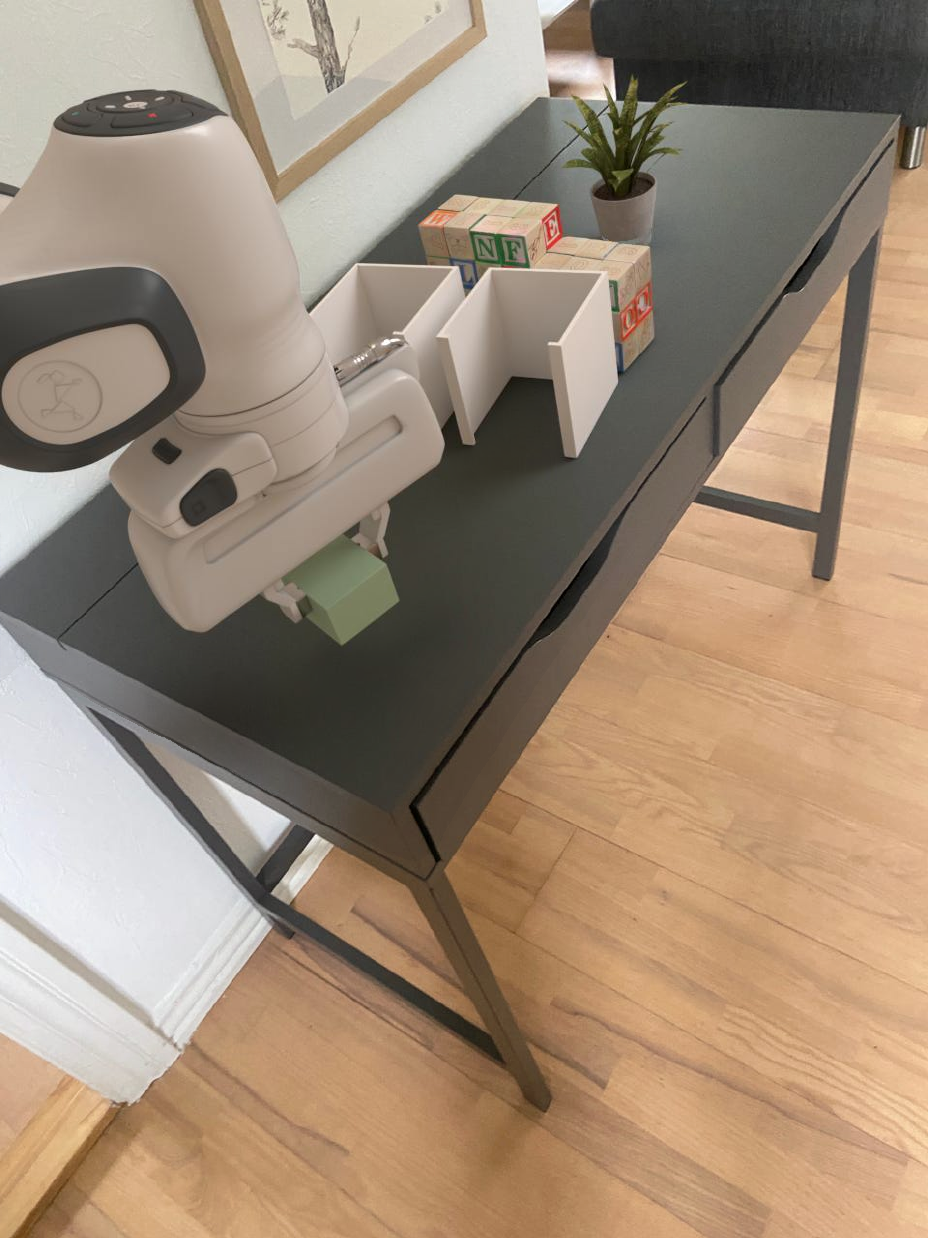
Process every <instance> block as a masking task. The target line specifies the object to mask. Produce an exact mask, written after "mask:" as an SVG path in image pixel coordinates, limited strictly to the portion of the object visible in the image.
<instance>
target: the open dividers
mask: <svg viewBox="0 0 928 1238" xmlns="http://www.w3.org/2000/svg"><path fill="white" fill-rule="evenodd" d="M308 314H309V315H310V317H311V318H312V319H313V321H314V322H315V323H316V325H317V326H318V328H319V330H320V332H321V334H322V336H323V339H324V342H325V345H326V348H327V351H328V354H329V357H330V360H331V363H332V366H334V365H336V364H337V363H339V362H340V361H342V360H343V359H345V358H347V357H349V356H351V355H354V354H356V353H358V352H359V351H361V350H363V349H364V348H365V347H366V346H367V345H368V344H369V343H370V342H372V341H373V340H375V339H377V338H380V337H383V336H385V337H387V338H388V339H391V338H401V339H403V340H405V341H406V342H408V343H409V345H410V346H411V347H412V348H413V350H414V352H415V355H416V359H417V363H418V367H419V371H420V382H419V384H420V385H421V387H422V388H423V390H424V392H425V394H426V396H427V398H428V400H429V402H430V404H431V406H432V409H433V411H434V413H435V416H436V418H437V421H438V424H439V426H440V429H441V430H443V428H444V426H445V425H446V423H447V422H448V420H449V419H450V417H451V416H452V415H453V413H454V414H455V418H456V422H457V427H458V430H459V434H460V438H461V442H462V445H467V446H475V444H476V439H475V433H476V432H477V430H478V429H479V427H480V425H481V424H482V422H483V421H484V419H485V418H486V416H487V415H488V413H489V412H490V410H491V408H492V407H493V406H494V404H495V403H496V401H497V399H498V398H499V396H500V395H501V393H502V392H503V391H504V389H505V387H506V385H507V384H508V383H509V381H510V380H511V379H512V377H517V378H528V379H529V378H531V379H539V380H540V379H541V380H552V382H553V389H554V396H555V404H556V409H557V416H558V422H559V428H560V435H561V442H562V448H563V455H564V458H565V457H566V458H571V459H572V458H573V459H578V457H579V455H580V453H581V452H582V450H583V448H584V446H585V444H586V442H587V441H588V439H589V437H590V435H591V433H592V432H593V430H594V428H595V426H596V424H597V423H598V421H599V419H600V416H602V413H603V411H604V409H605V408H606V406H607V404H608V402H609V401H610V398H611V396H612V395H613V393H614V391H615V389H616V387H617V386H618V384H619V378H618V371H617V365H616V354H615V344H614V333H613V322H612V311H611V301H610V290H609V279H608V271H585V270H554V269H523V268H492V267H489V268H488V270H487V271H486V272H485V274H484V275H483V276H482V277H481V279H480V280H479V281H478V283H477V284H476V285H475V287H474V288H473V289H472V290H471V292H470V293H469V294H468V296H467V297H466V298H465V293H464V289H463V284H462V280H461V275H460V270H459V266H429V265H428V264H397V263H395V264H394V263H393V264H391V263H365V262H364V263H363V262H356V263H355V264H354V265H352V267H351V268H350V269H349V270H348V271H347V272H346V273H345V275H343V277H342V278H341V279H340V280H339V281H338V282H337V283H336V284H335V285H334V286H333V287H332V288H331V289H330V290H329V292H328V293H327V294H325V296H324V297H323V298H322V299H321V300H320V301H319V302H318V304H316V306H315V307H313V309H312V310H311V311H310V312H308ZM393 346H394V345H393Z"/></svg>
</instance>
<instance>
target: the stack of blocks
mask: <svg viewBox="0 0 928 1238" xmlns="http://www.w3.org/2000/svg"><path fill="white" fill-rule="evenodd" d="M417 228H418V231H419V235H420V238H421V239H420V240H421V242H422V245H423V249H424V253H425V259H426V262H427V265H429V266H459V270H460V275H461V280H462V284H463V289H464V293H465V298H466V297H467V296H468V294H469V293H470V292H471V290H472V289H473V288H474V287H475V285H476V284H477V283H478V281H479V280H480V279H481V277H482V276H483V275H484V274H485V272H486V271H487V270H488V268H489V267H492V268H523V269H554V270H585V271H608V279H609V290H610V301H611V311H612V322H613V333H614V344H615V354H616V365H617V372H622V373H623V372H625V371H626V370H627V369H628V368H629V367H630V366H631V364H632V363H633V362H634V361H636V359H637V358H638V357H639V355H640V354H642V353H643V351H644V350H646V348H647V347H648V346H649V345H650V344H651V343H652V341H653V340H654V338H655V324H654V311H653V309H654V303H653V289H652V280H651V279H652V261H651V259H652V258H651V247H650V246H649V245H648V246H641V245H632V244H625V243H622V244H620V243H618V242H612V241H603V240H602V239H594V238H593V239H590V238H587V237H579V236H578V237H575V236H564V233H563V232H564V231H563V225H562V219H561V211H560V206H559V204H558V203H549V202H537V201H526V200H516V199H502V198H492V197H491V198H490V197H479V196H475V195H474V196H473V195H465V194H454V195H453V196H451V197H450V198H449V199H447V200H446V201H445V202H444V203H442V204H441V205H440V206H438V207H437V209H436V210H434V211H432V212H431V213H430V214H429V215H428V216H426V217H425V218H424V219H423V220H422V221H421V222H419V224H418V225H417Z"/></svg>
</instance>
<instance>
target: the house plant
mask: <svg viewBox="0 0 928 1238" xmlns="http://www.w3.org/2000/svg"><path fill="white" fill-rule="evenodd" d="M638 79H639V76H638V77H637V78H634V73H632V74H631V75H630V79H629V85H628V90H627V92H626V95H625V97H624V101H623V103H622V109H621V111H620V114H619V110H618V108H617V105H616V103H615V101H614V99H613V97H612V95H611V92H610V90H609V88H608V87H607V86H606V84H604V82H602V84H603V88H604V91H605V94H606V100H607V104H608V108H609V112H605V113H603V114H602V116H604V115H607V116H608V118H609V120H610V121H611V124H612V132H611V133H612V135H613V141H614V146H615V150H614V151H613V149H612V146H610V144H609V141H608V138H607V135H606V133H605V129H604V128H603V126H602V123H601V121H600V119H599V117H598V115H597V113H596V112H595V110H594V109H593V108H592V107H591V106H590V105H588V104H587V103H586V102H585V101H584V100H583V99H582V98H581V97H579V96H577V95H575V94H572V93H570V96H571V97H572V99H573V101H574V102H575V104H576V106H577V107H578V110H579V112H580V113H581V114H582V117H583V118H584V121H585V123H586V125H587V128H588V131H589V133H587V132H586V131H584V130H583V129H582V128H580V127H579V126H577V125H576V124H575V123H572V122H570V121H566V120H564V119H563V120H562V119H561V121H562V122H563V123H565V125H566V126H569V127H570V128H571V129H573V130H574V131H575V132H576V133H577V134H578V135H579V136H580V137H581V138H582V139H583V140H585V142H587V144H588V145H589V146H590V148H589V147H586V148H583V149H582V150H581V151H580V154H581V155H582V156H583V157H584V158H585V159H586V160H585V159H581V158H574V159H570V160H569V161H566V163H565V164H564V165H563V166H562V167H561V169H560V170H562V169H570V168H571V169H572V168H584V169H585V168H586V169H592V170H594V171H596V172H597V173H599V174H600V176H601V177H602V178H600V179H598V180H597V181H595V182H594V183H593V184H592V185H591V188H589V196H590V200H591V203H592V208H593V211H594V214H595V219H596V222H597V226H598V230H599V233H600V236H601V235H602V236H603V237H604V238H605V239H608V240H609V241H615V242H617V241H618V242H619V241H628V240H633V239H636V238H639V237H641V236H644V235H646V234H647V233H648V232H649V231H650V230H651V228H652V229H653V226H654V217H655V207H656V198H657V189H658V179H657V177H656V176H655V175H653V174H652V173H650V172H649V171H650V170H651V168H648V170H647V171H644V170H641V167H642V165H643V164H644V163H645V162H646V161H647V160H648V159H649V158H651V157H652V156H654V155H660V154H661V156H660V157H659V158H658V159H657V160H656V161H655V162H654V163H653V165H655V164H657V163H658V161H659V160H661V158H663V157H664V156H665V155H668V154H670V155H671V154H672V155H677V156H678V157H680V158H681V159H682V161H684V160H683V158H682V156H681V155H680V153H679V151H683V149H682V148H681V149H680V148H671V147H665V146H663V147H659V148H655V147H656V146H657V145H659V144H660V143H661V142H662V141H663V140H664V139H665V138H667V136H665V135H661V133H662V132H663V130H664V129H665V128H667V127H670V126H671V124H673V123H674V122H675V120H673V121H670V122H667V123H660V124H657V125H655V126H654V123H655V122H656V120H657V118H658V117H659V115H661V113H662V112H664V111H666V110H667V109H669V108H673V107H677V106H683V105H686V104H688V102H684V101H683V102H682V101H679V102H678V101H677V102H672V103H670V102H671V101H674V100H675V99H677V98H678V97H679V95H676V96H673V97H671V96H672V95H673V94H674V93H675V92H676V91H678V90H679V89H680V88H682V87H683V86H685V85H686V84H687V83H688V82H689V80H686V81H684V82H682V83H680V84H678V85H676V86H675V87H673V88H671V89H670V90H668V91H667V92H666V93H664V94H663V95H662V96H661V97H660V98H659V99H658V100H657V102H656V103H655V104H654V105H653V107H651V108H649V110H647V111H645V112H643V114H641V115H639V116H638V117H636V115H637V110H638V106H639V103H638V102H639V101H638V96H637V95H638V94H637V91H638V87H639V81H638ZM641 120H643V121H642V123H641V126H640V127H639V130H638V131H637V132H636V133H635V134H634V135H633V129H634V127H635V126H636V125H637V124H638V123H639V122H640V121H641ZM653 126H654V127H653ZM650 133H652V134H651V136H649V137H648V135H649V134H650ZM632 135H633V136H632ZM654 148H655V149H654ZM652 234H653V232H652V233H651V234H650V236H649V237H648V238H647V239H645V240H643V241H641V242H639V243H636V244H633V245H641V246H649V245H650V244H651V242H652V236H653V235H652Z"/></svg>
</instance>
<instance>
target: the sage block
mask: <svg viewBox="0 0 928 1238" xmlns="http://www.w3.org/2000/svg"><path fill="white" fill-rule="evenodd" d="M350 539H351V538H349V537H348V536H346V535H345V534H344V533H343V534H341V535H340V536H338V537H337V538H336V539H334V540H333V541H332V542H330V543H329V544H327V545H326V546H325V547H323V548H322V549H320V550H319V551H318V552H316V553H315V554H313V555H312V556H311V557H309V558H308V559H307V560H305V561H304V562H302V563H301V564H300V565H298V566H297V567H295V568H294V569H293V570H291V571H290V572H289V573H287V574H286V575H284V576H283V577H282V578H281V580H282V582H283V584H284V587H285V586H286V585H288V584H289V583H291V582H293V583H294V584H295V585H297V586H298V589H302V590H303V591H304V592H305V593H307V597H308V599H309V602H310V605H311V606H312V608H313V611H312V612H311V613H309V614H308V615H307V616H305V617H306V618H307V619H308V620H309V621H311V622H312V623H313V624H314V625H315V626H316V627H318V628H319V630H322V632H324V633H325V634H326V635H328V636H329V637H330V638H332V640H334V641H335V642H336V643H338V645H340V647H341V646H344V645H345V644H347V643H348V642H349V641H351V640H352V638H354V637H355V636H357V635H358V634H360V633H361V632H362V631H363V630H364V629H365V628H367V627H368V626H369V625H371V624H372V623H373V622H375V621H376V620H377V619H379V618H380V617H381V616H382V615H383V614H385V613H386V612H387V611H390V609H391V608H393V607H394V606H396V605H397V604H398V603H399V602H400V598H399V596H398V592H397V590H396V587H395V584H394V582H393V579H392V576H391V573H390V570H389V568H388V565H387V563H386V562H384V561H382V560H380V559H378V558H377V557H375V556H374V555H373V554H371V553H370V552H368V551H366V550H365V549H363V548H362V547H360V545H358V544H356V543H354V542H353V541H352V540H350ZM284 587H283V588H284Z"/></svg>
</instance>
